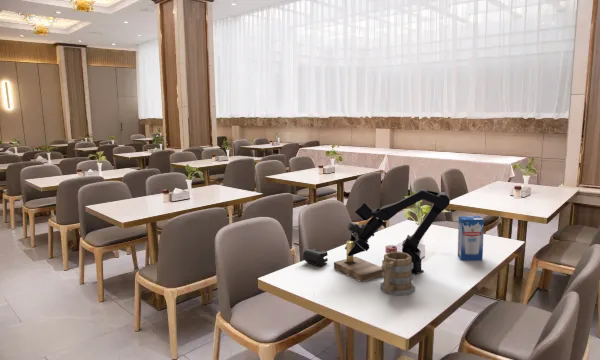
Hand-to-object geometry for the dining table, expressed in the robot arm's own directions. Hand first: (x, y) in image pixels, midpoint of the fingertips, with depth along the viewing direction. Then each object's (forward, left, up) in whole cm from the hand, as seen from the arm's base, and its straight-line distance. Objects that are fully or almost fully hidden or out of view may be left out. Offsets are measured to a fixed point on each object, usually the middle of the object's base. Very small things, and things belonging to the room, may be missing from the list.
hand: (346, 252), depth 196 cm
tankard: (-31, +1, -8) cm, 32 cm away
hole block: (-6, -2, -8) cm, 10 cm away
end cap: (+14, +8, -8) cm, 18 cm away
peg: (-1, -1, -8) cm, 8 cm away
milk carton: (-24, -56, -8) cm, 62 cm away
